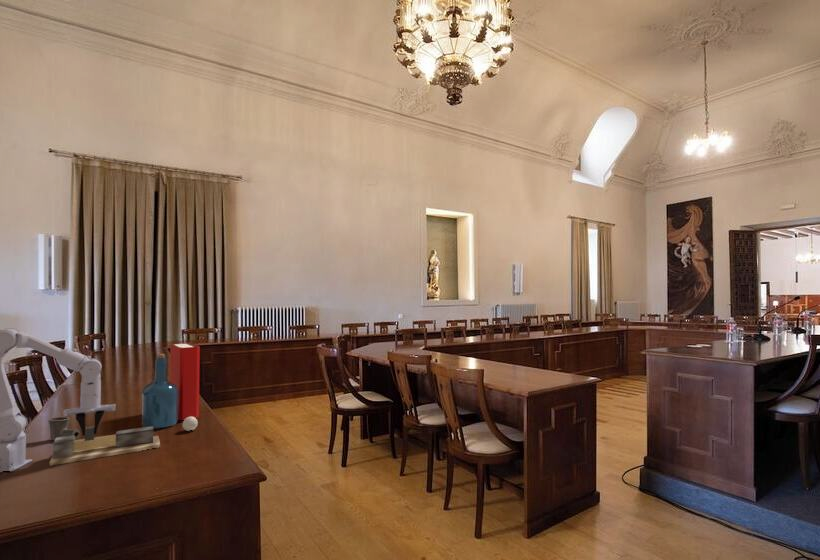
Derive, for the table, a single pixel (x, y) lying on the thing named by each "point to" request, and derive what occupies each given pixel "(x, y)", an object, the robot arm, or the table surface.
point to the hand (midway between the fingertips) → (89, 434)
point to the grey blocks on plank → (124, 444)
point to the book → (186, 377)
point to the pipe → (61, 428)
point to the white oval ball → (190, 423)
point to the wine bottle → (160, 399)
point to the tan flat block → (93, 441)
